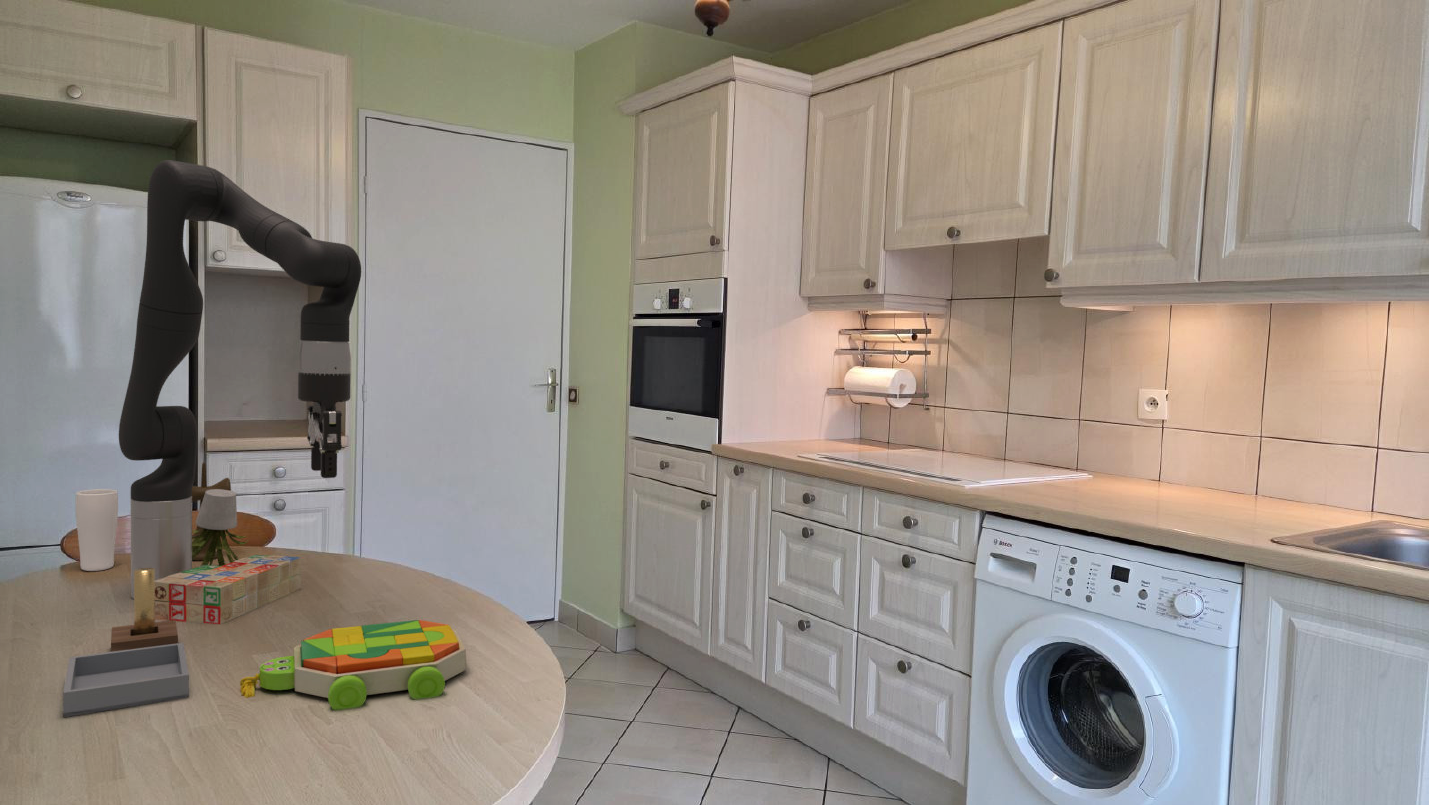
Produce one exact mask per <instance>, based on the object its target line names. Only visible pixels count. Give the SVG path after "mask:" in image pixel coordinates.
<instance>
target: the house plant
mask: <svg viewBox="0 0 1429 805" xmlns="http://www.w3.org/2000/svg"><path fill="white" fill-rule="evenodd" d="M199 508H200V510H199V511H198V514H197V517H196V520H195V525H196V527H197V526H199V527H202V528H203V529H202V531H201V530H199V531H201V534H200V535H199V536H196V537H193V538H192V559H193V558H194V557H195V556H196V555H197V554H198V553H199V552H200V551H201V550H202V548H203V547H204V546H205V545H206V544H207V542H208V541H209V540H210V539H211V537H212V536H213V537H212V540H211V543H210V545H209V548H208V550H207V553H206V555H205V557H204V560H203V561H202V563H201V564H200V566H204V565H213V562H214V560H215V558H214V556H215V552H217V555H218V557H217V565H218V566H223V565H226V561H225V558H224V555H223V550H224V551H225V552H226V556H227V559H228V562H229V563H232V562H234V561H237V560H240V558H239V557H238V556H237V555H236V554H235V553H234V551H233V550H232V549H231V547H230V546H229V544H228V539H227V537H228V538H229V539H230V540H231V541H232V542H234V543H236V544H237V545H241V546H242V545H245V544H247V543H248V542H249V540H247V541H239V540H237V539H244V538H246V537H247V535H245V536H244V535H238V534H233V533H231V532H230V531H228V530H231V529H234V528H235V529H236V528H237V527H238V513H237V512H238V511H237V493H236V492H235V491H232V490H231V491H229V490H223V489H212V490H207V491H206V492H205V495H204V498H203V501H202V504H201V507H200V506H199ZM199 531H196V529H195V530H194V529H192V534H195V533H197V532H199ZM193 540H194V541H193Z"/></svg>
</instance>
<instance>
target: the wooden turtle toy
mask: <svg viewBox="0 0 1429 805" xmlns="http://www.w3.org/2000/svg"><path fill="white" fill-rule="evenodd" d="M466 653H467V652H466V647H465V645H464V643H463V641H462V640H461V638H460V636H459V634H458V632H457V631H456V629H453V628H452V627H451V625H450V624H446V623H440V622H436V621H435V622H434V621H429V620H423V619H414V620H406V621H405V620H404V621H394V622H385V623H374V624H363V625H359V626H358V625H356V626H348V627H347V626H346V627H345V626H344V627H338V628H337V627H336V628H329V629H327V630H324V631H322V632H319V633H316V634H314V635H312V636H309V637H307V638H305V639H302V640H301V641H300V644H299V645H297V646H295V647H294V648H293V655H289V656H281V657H276V658H272V659H270V660H269V659H268V660H267V661H265V662H263V663H262V664H261V665H260V667H259V673H256V674H255V676H246V677H243V678H241V680H240V681H239V686H240V692H241V693H240V695H241V696H243V697H244V699H248V698H253V697H255V696H256V695H255V691H256V689H257V684H259V686H260V687H261V688H263V689H266V690H271V691H283V690H291V689H294V691H295V692H297V693H298V692H299V693H303V694H307V695H313V696H317V697H321V698H327V700H328V704H329V706H330V708H332V710H334V711H340V710H341V711H342V710H347V709H355V708H359V707H363V705H364V703H365V701H366V699H367V696H369V695H370V696H371V695H378V694H384V693H385V694H386V693H393V692H401V691H408V695H409V697H410V698H411V699H412V700H420V699H427V698H435V697H439V696H441V695H442V693H443V692H444V690H445V686H446V682H445V681H447V680H450V679H452V678H454V677H455V676H456V675H459V674H460V673H462V672H464V671H466V669H467V668H466V667H467V665H466V664H467V654H466Z"/></svg>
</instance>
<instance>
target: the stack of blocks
mask: <svg viewBox="0 0 1429 805" xmlns="http://www.w3.org/2000/svg"><path fill="white" fill-rule="evenodd" d="M299 590H301V557H297V556H288V555H287V556H286V555H285V556H284V555H273V554H272V555H262V554H254V555H250V556H248V557H247V556H246V557H243V558H239V560H237V561H236V560H234V561H233V562H232V563H230V562H229V563H225V565H223V566H219V565H213V564H212V565H210V564H208V565H204V566H201V565H199V566H198V567H194V568H192V569H189V570H186V571H183V572H181V573H177V574H174V575H170V576H167V577H165V578H162V579H159V580H156V581H155V620H162V621H171V620H175V621H176V622H183V623H184V622H185V623H198V624H199V623H201V624H210V625H211V624H212V625H222V624H224V623H226V622H229V621H232V620H234V619H236V618H237V617H240V616H242V615H245V614H247V613H249V612H251V611H253V610H255V609H258V608H261V607H263V606H265V605H267V604H269V603H272V602H274V601H277V600H278V599H281V598H283V597H285V596H288V595H289V594H291V593H292V594H293V593H294V592H297V591H299Z"/></svg>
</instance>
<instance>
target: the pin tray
mask: <svg viewBox="0 0 1429 805" xmlns="http://www.w3.org/2000/svg"><path fill="white" fill-rule="evenodd" d="M185 650H186V649H185V645H184V642H178V643H177V644H169V645H161V646H153V647H145V648H138V649H130V650H122V651H114V652H111V651H108V652H99V653H91V654H84V655H75V656H70V657H69V658H68V664H67V670H66V675H65V681H64V687H63V694H62V695H63V696H62V699H63V700H62V702H63V703H62V708H63V710H62V713H63V714H62V715H63V718H67V717H74V716H75V717H76V716H81V715H88V714H94V713H101V712H107V711H113V710H120V709H127V708H132V707H133V708H134V707H140V706H146V705H152V704H159V703H164V702H170V701H176V700H177V701H178V700H181V699H188V698H189V697H190V673H189V667H188V663H187V662H188V661H187V656H186V651H185Z"/></svg>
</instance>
